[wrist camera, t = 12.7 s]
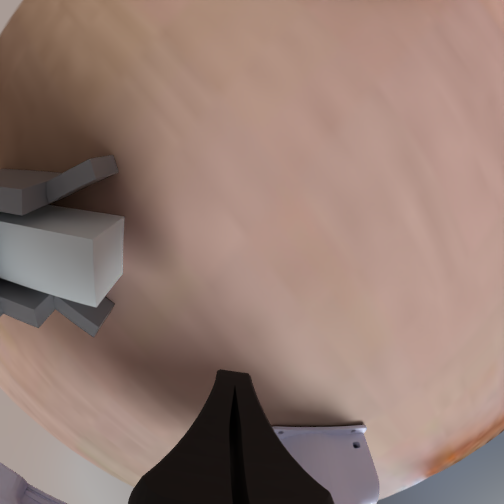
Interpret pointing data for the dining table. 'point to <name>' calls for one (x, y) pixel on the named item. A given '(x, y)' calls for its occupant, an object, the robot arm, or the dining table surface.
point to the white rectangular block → (63, 252)
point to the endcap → (29, 199)
